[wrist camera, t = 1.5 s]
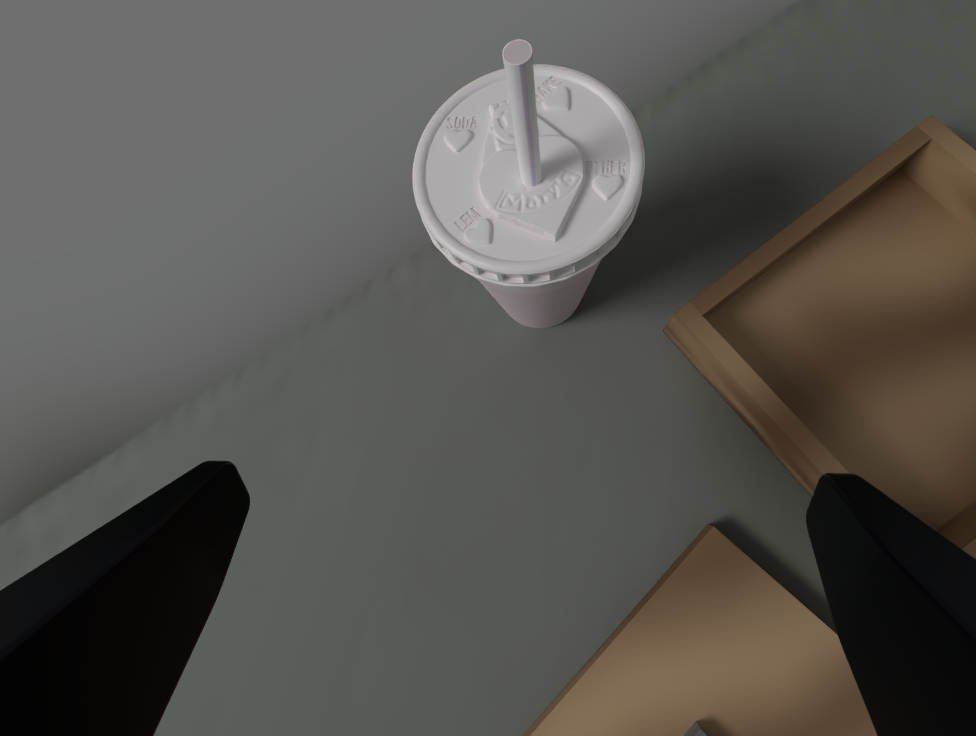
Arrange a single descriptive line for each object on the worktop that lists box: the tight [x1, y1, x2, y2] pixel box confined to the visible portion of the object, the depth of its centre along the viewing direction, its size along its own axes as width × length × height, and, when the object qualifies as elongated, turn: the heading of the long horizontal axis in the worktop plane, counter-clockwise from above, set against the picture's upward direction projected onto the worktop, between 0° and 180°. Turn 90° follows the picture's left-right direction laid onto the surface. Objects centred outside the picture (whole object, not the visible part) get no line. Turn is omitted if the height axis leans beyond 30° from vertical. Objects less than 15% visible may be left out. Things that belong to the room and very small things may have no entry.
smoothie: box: [412, 40, 645, 328], centre depth 17 cm, size 6×6×14 cm
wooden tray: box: [663, 115, 976, 559], centre depth 20 cm, size 12×12×2 cm
